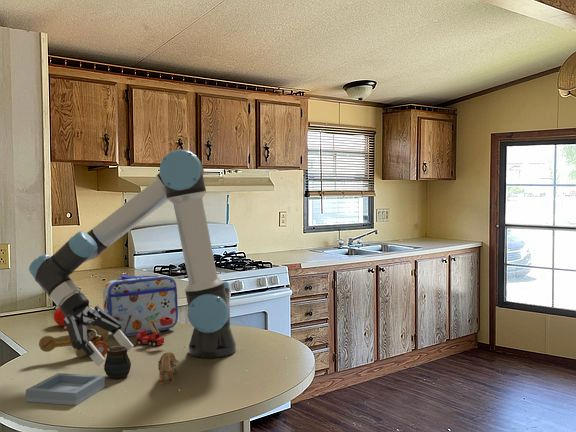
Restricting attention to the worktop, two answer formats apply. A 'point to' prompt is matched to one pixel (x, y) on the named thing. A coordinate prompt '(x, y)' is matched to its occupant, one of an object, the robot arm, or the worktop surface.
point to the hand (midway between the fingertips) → (116, 355)
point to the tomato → (59, 317)
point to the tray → (65, 389)
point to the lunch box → (141, 302)
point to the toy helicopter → (51, 342)
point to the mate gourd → (117, 362)
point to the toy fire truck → (154, 337)
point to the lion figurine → (167, 366)
